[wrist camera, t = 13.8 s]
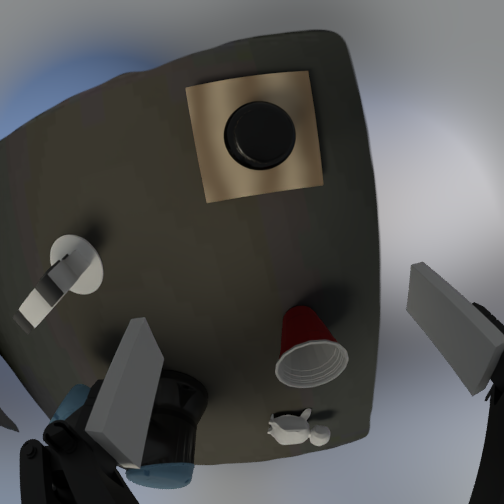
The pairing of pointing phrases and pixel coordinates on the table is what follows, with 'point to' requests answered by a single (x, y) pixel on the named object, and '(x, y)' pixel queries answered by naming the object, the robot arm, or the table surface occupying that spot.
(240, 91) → the oak block
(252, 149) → the supplement bottle
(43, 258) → the table surface
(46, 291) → the disc-based toy figure
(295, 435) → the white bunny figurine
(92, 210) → the table surface
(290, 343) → the plastic cup
